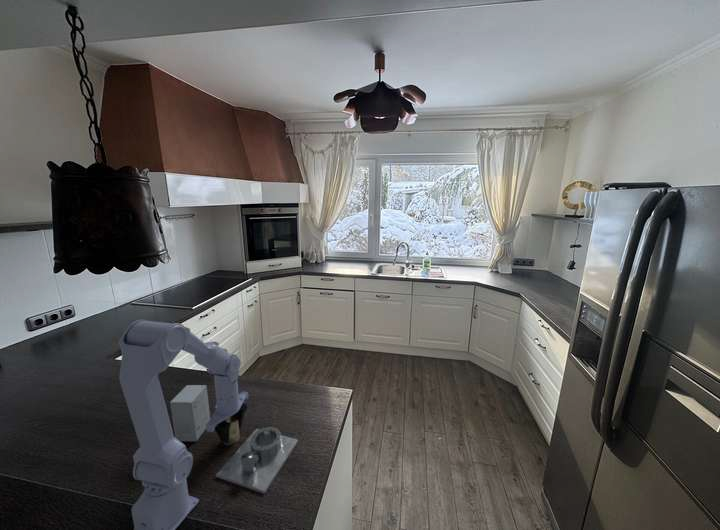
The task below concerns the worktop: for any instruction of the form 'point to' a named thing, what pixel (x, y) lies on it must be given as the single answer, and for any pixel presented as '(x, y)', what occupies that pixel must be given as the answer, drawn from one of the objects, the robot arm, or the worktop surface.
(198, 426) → the small box
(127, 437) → the worktop surface
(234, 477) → the manifold plate
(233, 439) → the brass rounded plug
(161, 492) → the robot arm
